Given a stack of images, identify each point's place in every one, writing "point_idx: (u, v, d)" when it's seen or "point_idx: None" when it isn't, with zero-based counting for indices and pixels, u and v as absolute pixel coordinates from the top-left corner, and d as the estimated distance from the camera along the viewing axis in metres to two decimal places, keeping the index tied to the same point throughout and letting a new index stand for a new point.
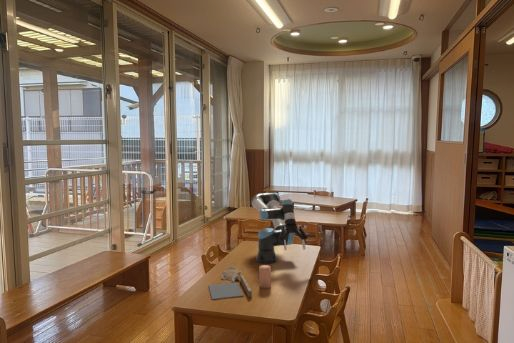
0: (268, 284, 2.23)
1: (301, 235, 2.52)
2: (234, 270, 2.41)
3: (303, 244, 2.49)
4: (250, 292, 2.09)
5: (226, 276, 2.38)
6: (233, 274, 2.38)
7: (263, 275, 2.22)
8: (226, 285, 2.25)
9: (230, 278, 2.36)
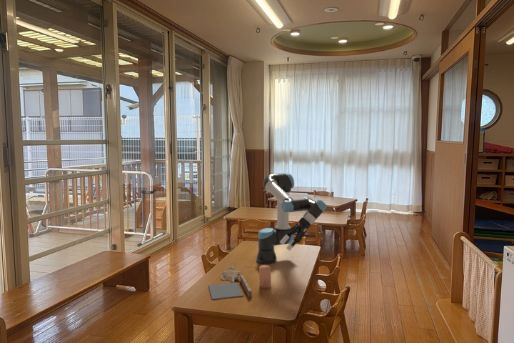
0: (268, 284, 2.23)
1: (292, 233, 2.33)
2: (234, 270, 2.40)
3: (285, 240, 2.33)
4: (250, 292, 2.09)
5: (226, 276, 2.38)
6: (233, 274, 2.37)
7: (263, 275, 2.22)
8: (226, 285, 2.25)
9: (230, 278, 2.36)
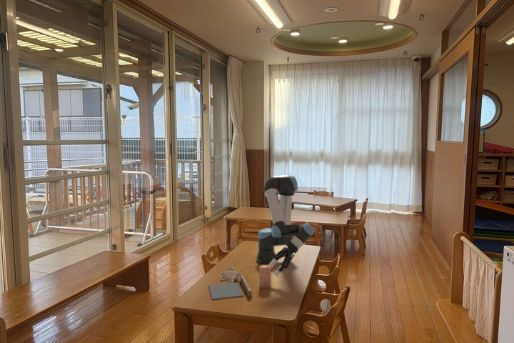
0: (268, 284, 2.23)
1: (280, 257, 2.31)
2: (233, 271, 2.39)
3: (273, 264, 2.31)
4: (250, 292, 2.09)
5: (225, 277, 2.37)
6: (232, 275, 2.36)
7: (263, 275, 2.22)
8: (226, 285, 2.25)
9: (229, 279, 2.35)
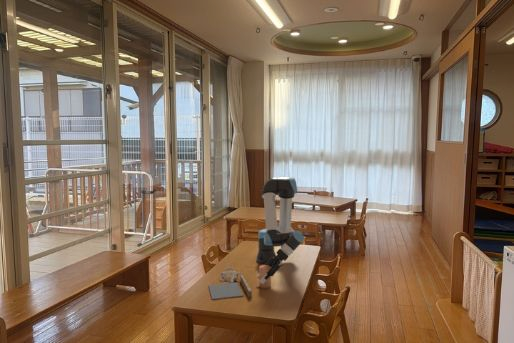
0: (268, 284, 2.23)
1: None
2: (232, 271, 2.39)
3: None
4: (250, 292, 2.09)
5: (224, 277, 2.36)
6: (231, 275, 2.36)
7: (263, 275, 2.22)
8: (226, 285, 2.25)
9: (229, 279, 2.34)
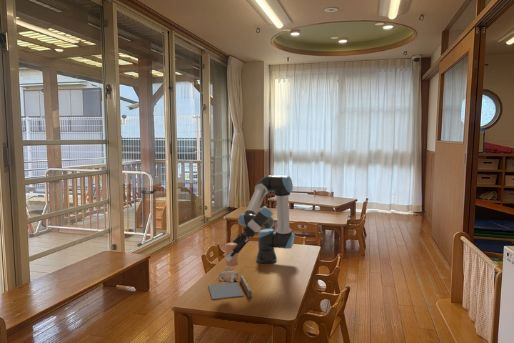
0: (235, 262, 2.14)
1: None
2: (231, 271, 2.39)
3: None
4: (250, 292, 2.09)
5: (224, 277, 2.36)
6: (231, 275, 2.36)
7: (229, 252, 2.13)
8: (226, 285, 2.25)
9: (228, 279, 2.34)
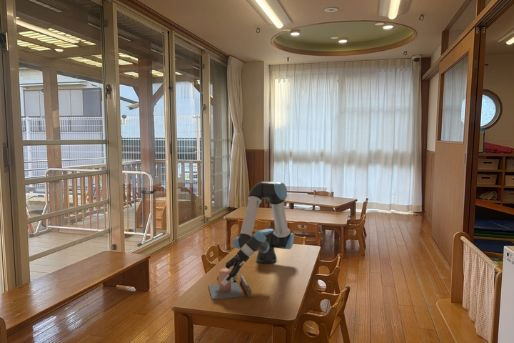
0: (228, 288, 2.16)
1: (231, 265, 2.25)
2: None
3: None
4: (250, 292, 2.09)
5: None
6: None
7: (223, 279, 2.15)
8: None
9: None
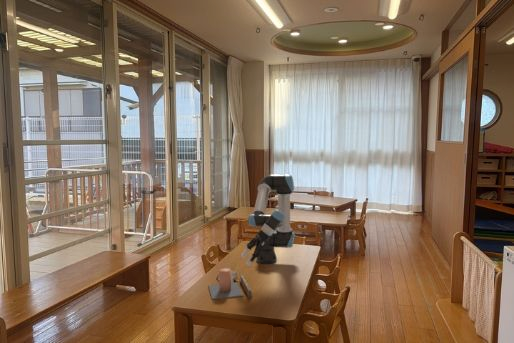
0: (228, 288, 2.16)
1: (253, 246, 2.27)
2: None
3: (246, 253, 2.27)
4: (250, 292, 2.09)
5: None
6: None
7: (223, 279, 2.15)
8: None
9: None
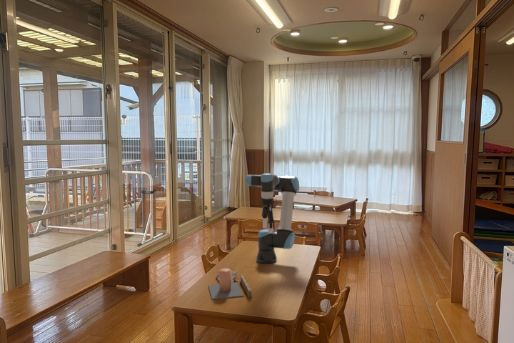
0: (228, 288, 2.16)
1: (266, 214, 2.40)
2: None
3: (266, 223, 2.41)
4: (250, 292, 2.09)
5: None
6: None
7: (223, 279, 2.15)
8: None
9: None
